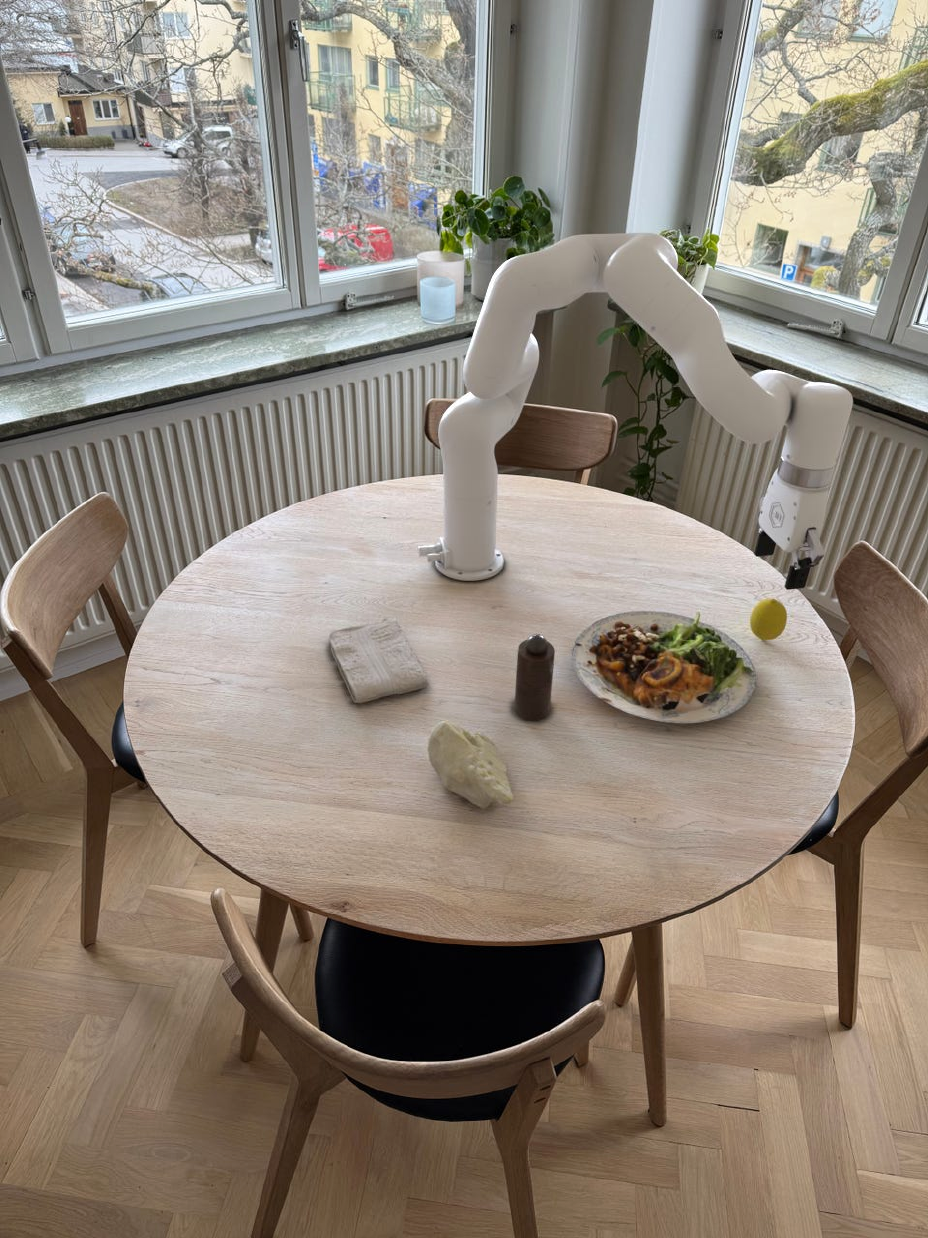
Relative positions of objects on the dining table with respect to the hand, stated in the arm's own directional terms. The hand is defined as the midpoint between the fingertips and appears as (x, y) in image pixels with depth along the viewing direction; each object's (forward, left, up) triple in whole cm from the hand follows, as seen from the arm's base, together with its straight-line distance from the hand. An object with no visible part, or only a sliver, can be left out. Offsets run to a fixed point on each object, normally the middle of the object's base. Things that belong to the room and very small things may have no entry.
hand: (778, 571), depth 140 cm
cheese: (-53, -24, -13) cm, 60 cm away
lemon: (0, 0, -13) cm, 13 cm away
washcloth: (-63, +6, -13) cm, 64 cm away
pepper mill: (-42, -9, -13) cm, 45 cm away
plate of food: (-20, -5, -13) cm, 24 cm away
